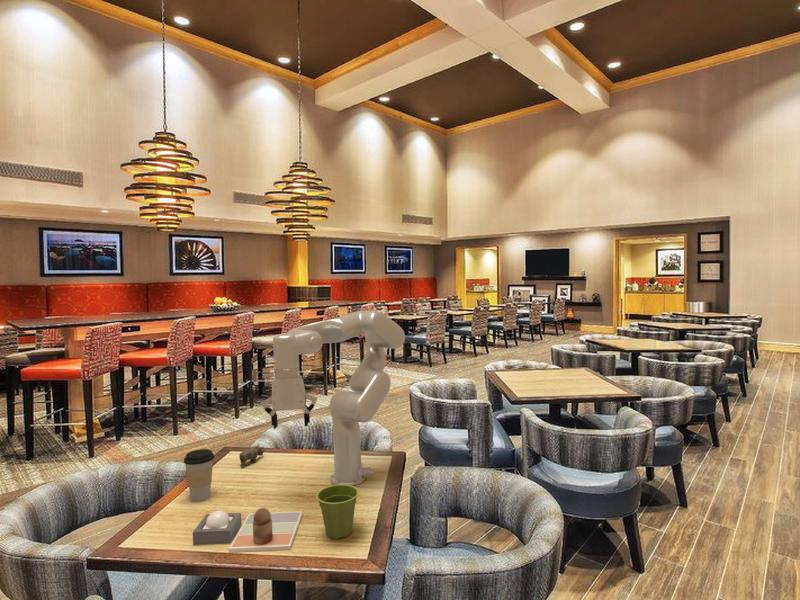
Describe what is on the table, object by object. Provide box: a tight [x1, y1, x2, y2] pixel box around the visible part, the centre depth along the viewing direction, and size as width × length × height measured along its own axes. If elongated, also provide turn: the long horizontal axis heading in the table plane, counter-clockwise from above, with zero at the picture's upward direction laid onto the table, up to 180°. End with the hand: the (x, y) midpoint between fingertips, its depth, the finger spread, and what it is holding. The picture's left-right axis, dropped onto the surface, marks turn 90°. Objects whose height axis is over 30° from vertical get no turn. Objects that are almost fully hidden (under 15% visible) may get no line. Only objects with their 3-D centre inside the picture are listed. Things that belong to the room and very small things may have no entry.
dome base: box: [192, 512, 243, 546], centre depth 133 cm, size 10×10×4 cm
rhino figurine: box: [238, 444, 265, 469], centre depth 188 cm, size 4×14×6 cm, turn 154°
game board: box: [228, 510, 304, 553], centre depth 133 cm, size 16×19×1 cm
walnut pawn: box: [253, 507, 273, 545], centre depth 127 cm, size 5×5×8 cm
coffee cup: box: [183, 448, 215, 503], centre depth 156 cm, size 9×9×15 cm
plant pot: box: [315, 484, 360, 540], centre depth 132 cm, size 12×12×11 cm
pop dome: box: [203, 510, 233, 529], centre depth 133 cm, size 6×6×6 cm
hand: (291, 426), depth 150 cm, fingers open, 9 cm apart
